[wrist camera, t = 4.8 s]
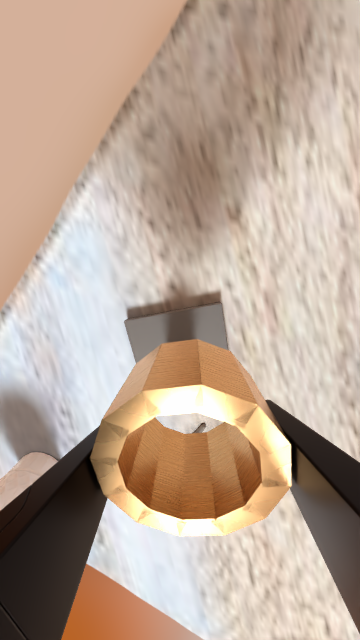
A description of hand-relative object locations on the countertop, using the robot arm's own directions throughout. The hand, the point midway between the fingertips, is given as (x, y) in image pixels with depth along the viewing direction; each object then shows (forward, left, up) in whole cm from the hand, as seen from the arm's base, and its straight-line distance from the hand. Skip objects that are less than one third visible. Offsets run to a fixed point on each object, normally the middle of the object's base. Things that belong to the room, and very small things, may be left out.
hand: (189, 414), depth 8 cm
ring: (0, 0, -1) cm, 1 cm away
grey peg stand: (+1, +2, -11) cm, 11 cm away
